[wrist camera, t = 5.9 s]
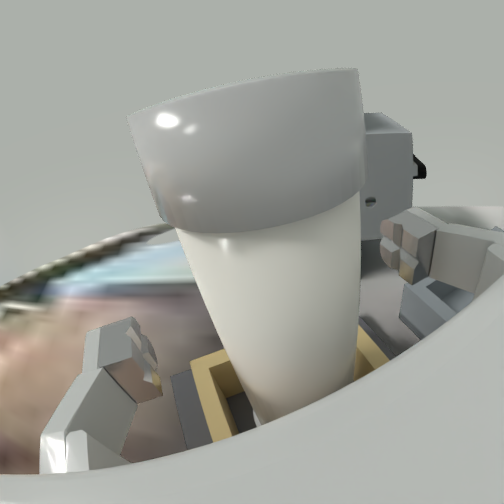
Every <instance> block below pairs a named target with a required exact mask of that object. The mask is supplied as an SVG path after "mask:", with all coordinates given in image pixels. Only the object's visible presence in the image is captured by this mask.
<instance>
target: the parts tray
mask: <svg viewBox="0 0 504 504" xmlns="http://www.w3.org/2000/svg"><path fill="white" fill-rule="evenodd" d="M491 230H493V231H498V232H503V233H504V231H503V230H501V229H500V228H498V227H494V228H493V229H491ZM473 297H474V293H471V292H468V291H466V290H463V289H460V288H457V287H455V286H452V285H449V284H446V283H444V282H441V281H438V280H435V279H432V278H429V276H428V277H427V278H425V279H423V280H421V281H419V282H418V283H416V284H414V285H410V284H409V283H406V284H404V290H403V296H402V302H401V308H400V314H399V318H400V319H401V320H402V321H403V322H404V323H405V324H406V325H407V326H408V327H409V328H410V329H411V330H412V331H413V332H414V333H415V334H416V335H417V336H418V337H419V338H420V339H421V340H422V339H424V338H425V337H426V336H428V335H429V334H431V333H432V332H433V331H435V330H436V329H438V328H439V327H440V326H442V325H443V324H444V323H446V322H447V321H448V320H450V319H451V318H452V317H454V316H455V315H456V314H457V313H459V312H460V311H461V310H462V309H464V308H465V307H466V306H467V305H469V304H470V303H471V302H472V299H473Z"/></svg>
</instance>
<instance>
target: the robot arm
mask: <svg viewBox="0 0 504 504" xmlns="http://www.w3.org/2000/svg"><path fill="white" fill-rule="evenodd" d="M380 233H381V234H382V235H383V238H382V240H381V242H380V254H381V257H382V260H383V261H384V262H385V264H386V265H387V266H388V267H390V268H392V269H396V270H398V272H399V276H401V277H402V278H403V279H404V280H406V281H407V282H408V283H409V284H410V285H414V284H416V283H418V282H419V281H421V280H423V279H425V278H427V277H428V276H429V278H432V279H435V280H438V281H441V282H444V283H446V284H449V285H452V286H455V287H457V288H460V289H463V290H466V291H468V292H471V293H474V297H473V299H472V302H471V303H470V304H469V305H467V306H466V307H465V308H464V309H462V310H461V311H460V312H459V313H457V314H456V315H455V316H454V317H452V318H451V319H450V320H448V321H447V322H446V323H444V324H443V325H442V326H440V327H439V328H438V329H436V330H435V331H433V332H432V333H431V334H429V335H428V336H426V337H425V338H424V339H422V340H421V341H419V342H418V343H416V344H415V345H413V346H412V347H410V348H409V349H407V350H406V351H404V352H403V353H401V354H400V355H398V356H397V357H395V358H393V359H392V360H390V361H389V362H387V363H385V364H384V365H382V366H381V367H379V368H377V369H376V370H374V371H372V372H370V373H369V374H367V375H365V376H364V377H362V378H360V379H358V380H356V381H355V382H353V383H351V384H349V385H347V386H345V387H344V388H342V389H340V390H338V391H336V392H334V393H332V394H330V395H328V396H326V397H324V398H322V399H320V400H318V401H316V402H314V403H312V404H310V405H308V406H306V407H303V408H301V409H299V410H297V411H295V412H292V413H290V414H288V415H286V416H283V417H281V418H279V419H276V420H274V421H271V422H269V423H266V424H264V425H261V426H259V427H256V428H254V429H251V430H248V431H246V432H243V433H240V434H237V435H235V436H232V437H229V438H226V439H223V440H220V441H217V442H214V443H211V444H208V445H204V446H201V447H198V448H194V449H191V450H187V451H184V452H180V453H176V454H172V455H168V456H164V457H160V458H156V459H151V460H147V461H142V462H137V463H131V462H129V461H127V460H126V459H124V458H123V457H121V456H120V454H121V451H122V448H123V445H124V442H125V439H126V437H127V434H128V431H129V428H130V425H131V423H132V420H133V417H134V414H135V412H136V409H137V406H138V405H137V404H139V403H142V402H145V401H148V400H151V399H154V398H157V397H160V396H163V393H162V387H161V381H160V377H159V376H158V374H157V373H156V372H155V370H156V369H157V367H158V363H157V358H156V355H155V352H154V349H153V347H152V345H151V343H150V341H149V339H148V338H147V336H144V335H142V334H141V331H140V325H139V324H138V322H137V321H136V319H135V318H133V317H129V318H126V319H123V320H120V321H117V322H114V323H111V324H108V325H105V326H102V327H99V328H97V329H94V330H91V331H88V332H87V334H86V338H85V347H84V357H83V369H82V374H79V375H78V376H77V377H76V379H75V380H74V382H73V383H72V385H71V386H70V388H69V390H68V391H67V393H66V394H65V396H64V398H63V399H62V401H61V402H60V404H59V406H58V407H57V409H56V410H55V412H54V414H53V415H52V417H51V419H50V420H49V422H48V424H47V425H46V427H45V429H44V430H43V432H42V434H41V438H40V474H23V475H21V474H0V504H504V233H503V232H498V231H493V230H488V229H483V228H477V227H472V226H466V225H461V224H455V223H449V224H447V223H446V222H444V221H442V220H440V219H439V218H437V217H435V216H433V215H432V214H430V213H428V212H426V211H424V210H422V209H421V208H419V207H412V208H409V209H407V210H405V211H403V212H402V213H399V214H397V215H395V216H392V217H390V218H387V219H385V220H383V221H382V223H381V225H380Z"/></svg>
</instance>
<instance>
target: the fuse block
mask: <svg viewBox="0 0 504 504" xmlns="http://www.w3.org/2000/svg"><path fill="white" fill-rule="evenodd" d="M395 357H396V356H395V355H394V354H393V353H392V352H391V350H390V349H389V348H388V347H387V346H386V345H385V344H384V343H383V341H382V340H381V339H380V338H379V337H378V336H377V335H376V334H375V333H374V331H373V330H372V329H371V328H370V327H369V326H368V325H367V324H366V323H365V322H364V320H363V319H362V318H361V317H360V316H359V322H358V336H357V349H356V360H355V369H354V378H353V382H355V381H356V380H358V379H360V378H362V377H364V376H365V375H367V374H369V373H370V372H372V371H374V370H376V369H377V368H379V367H381V366H382V365H384V364H385V363H387V362H389V361H390V360H392V359H393V358H395ZM190 365H191V369H190V370H188V371H185V372H182V373H179V374H176V375H173V376H170V377H171V382H172V387H173V392H174V396H175V401H176V405H177V410H178V414H179V418H180V422H181V426H182V430H183V434H184V438H185V442H186V446H187V450H191V449H194V448H198V447H201V446H204V445H208V444H211V443H214V442H217V441H220V440H223V439H226V438H229V437H232V436H235V435H237V434H240V433H243V432H246V431H248V430H251V429H254V428H256V427H257V426H256V424H255V421H254V416H253V408H252V406H251V404H250V402H249V400H248V397H247V395H246V393H245V391H244V389H243V387H242V385H241V383H240V381H239V379H238V377H237V374H236V372H235V370H234V368H233V366H232V364H231V361H230V359H229V357H228V355H227V353H226V351H225V349H222V350H219V351H217V352H214V353H211V354H209V355H206V356H203V357H200V358H198V359H195V360H192V361H190Z"/></svg>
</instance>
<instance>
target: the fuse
mask: <svg viewBox="0 0 504 504" xmlns="http://www.w3.org/2000/svg"><path fill="white" fill-rule="evenodd" d="M126 119H127V122H128V125H129V128H130V132H131V135H132V138H133V141H134V144H135V147H136V150H137V153H138V156H139V159H140V162H141V165H142V168H143V171H144V174H145V177H146V179H147V182H148V185H149V188H150V190H151V193H152V196H153V199H154V202H155V204H156V207H157V210H158V212H159V215H160V217H161V218H162V219H163V221H164V222H166V223H167V224H169V225H171V226H173V227H175V229H176V232H177V234H178V237H179V240H180V242H181V245H182V248H183V250H184V253H185V255H186V258H187V260H188V263H189V266H190V268H191V271H192V273H193V276H194V278H195V280H196V283H197V285H198V288H199V290H200V293H201V295H202V297H203V300H204V302H205V305H206V307H207V309H208V312H209V314H210V316H211V319H212V321H213V323H214V326H215V328H216V330H217V333H218V335H219V337H220V339H221V342H222V344H223V346H224V348H225V351H226V353H227V355H228V357H229V359H230V361H231V364H232V366H233V368H234V370H235V372H236V374H237V377H238V379H239V381H240V383H241V385H242V387H243V389H244V391H245V393H246V395H247V397H248V400H249V402H250V404H251V406H252V408H253V416H254V421H255V424H256V426H257V427H259V426H261V425H264V424H266V423H269V422H271V421H274V420H276V419H279V418H281V417H283V416H286V415H288V414H290V413H292V412H295V411H297V410H299V409H301V408H303V407H306V406H308V405H310V404H312V403H314V402H316V401H318V400H320V399H322V398H324V397H326V396H328V395H330V394H332V393H334V392H336V391H338V390H340V389H342V388H344V387H345V386H347V385H349V384H351V383H353V378H354V369H355V360H356V349H357V336H358V322H359V304H360V276H361V221H360V193H359V190H361V188H362V187H363V186H364V184H365V183H366V181H367V178H368V157H367V143H366V132H365V121H364V112H363V104H362V96H361V88H360V82H359V74H358V69H356V68H337V69H320V70H309V71H299V72H291V73H283V74H277V75H270V76H264V77H258V78H252V79H247V80H242V81H238V82H233V83H229V84H224V85H220V86H216V87H212V88H208V89H204V90H200V91H197V92H193V93H190V94H186V95H183V96H180V97H176V98H173V99H170V100H167V101H164V102H161V103H158V104H155V105H153V106H150V107H147V108H145V109H142V110H140V111H137V112H135V113H132V114H130V115H128V116H126Z"/></svg>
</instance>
